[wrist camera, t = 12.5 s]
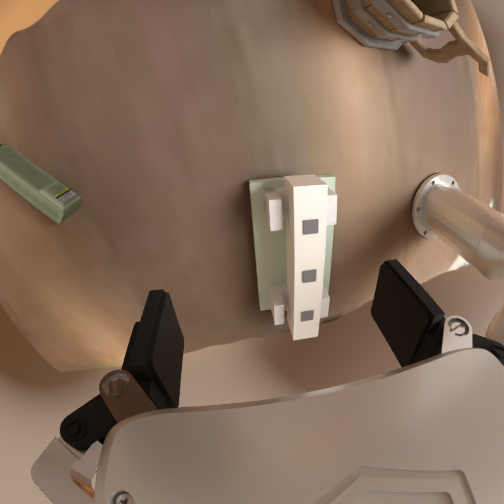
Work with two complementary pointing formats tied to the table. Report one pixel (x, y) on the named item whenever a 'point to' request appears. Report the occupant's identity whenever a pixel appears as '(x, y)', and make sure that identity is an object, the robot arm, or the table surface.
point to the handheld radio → (37, 185)
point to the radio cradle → (282, 243)
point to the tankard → (408, 27)
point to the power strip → (305, 252)
